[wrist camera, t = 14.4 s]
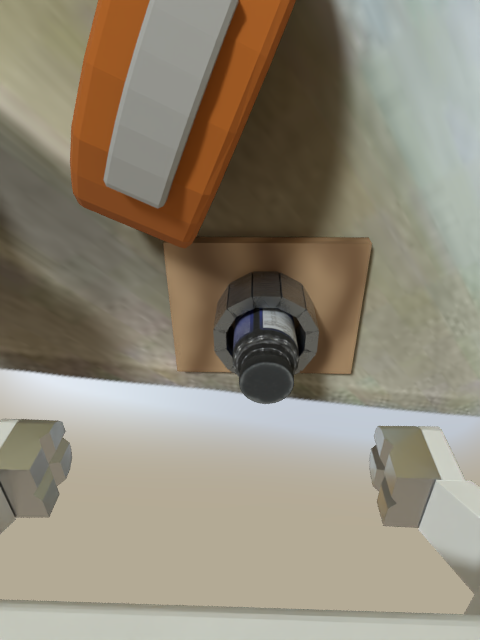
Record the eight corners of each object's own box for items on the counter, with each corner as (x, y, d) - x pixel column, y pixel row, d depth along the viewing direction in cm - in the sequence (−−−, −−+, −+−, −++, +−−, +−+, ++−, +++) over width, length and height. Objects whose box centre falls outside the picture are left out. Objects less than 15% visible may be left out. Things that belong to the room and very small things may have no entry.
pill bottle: (247, 344, 49) (244, 417, 40) (226, 300, 46) (218, 367, 37) (300, 329, 48) (311, 400, 38) (283, 282, 45) (289, 347, 35)
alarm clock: (197, -138, 29) (142, -294, 15) (315, -67, 31) (363, -148, 17) (107, 183, 41) (30, 260, 27) (196, 222, 43) (167, 313, 29)
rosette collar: (219, 351, 50) (215, 380, 45) (215, 271, 44) (211, 296, 40) (308, 352, 49) (313, 381, 45) (316, 271, 44) (322, 296, 40)
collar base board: (179, 363, 53) (177, 371, 51) (165, 236, 44) (163, 242, 43) (348, 365, 52) (350, 373, 51) (368, 237, 43) (371, 243, 42)
